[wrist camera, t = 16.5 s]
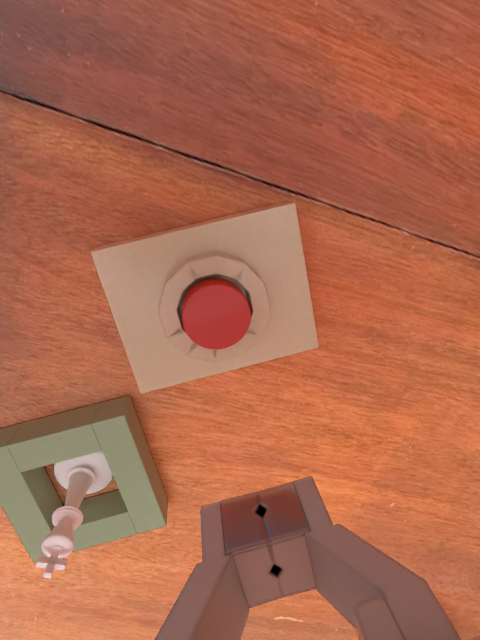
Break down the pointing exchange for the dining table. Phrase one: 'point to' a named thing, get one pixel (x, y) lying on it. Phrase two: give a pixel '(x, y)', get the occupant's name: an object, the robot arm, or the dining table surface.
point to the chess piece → (72, 506)
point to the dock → (71, 442)
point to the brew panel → (200, 264)
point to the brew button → (215, 314)
